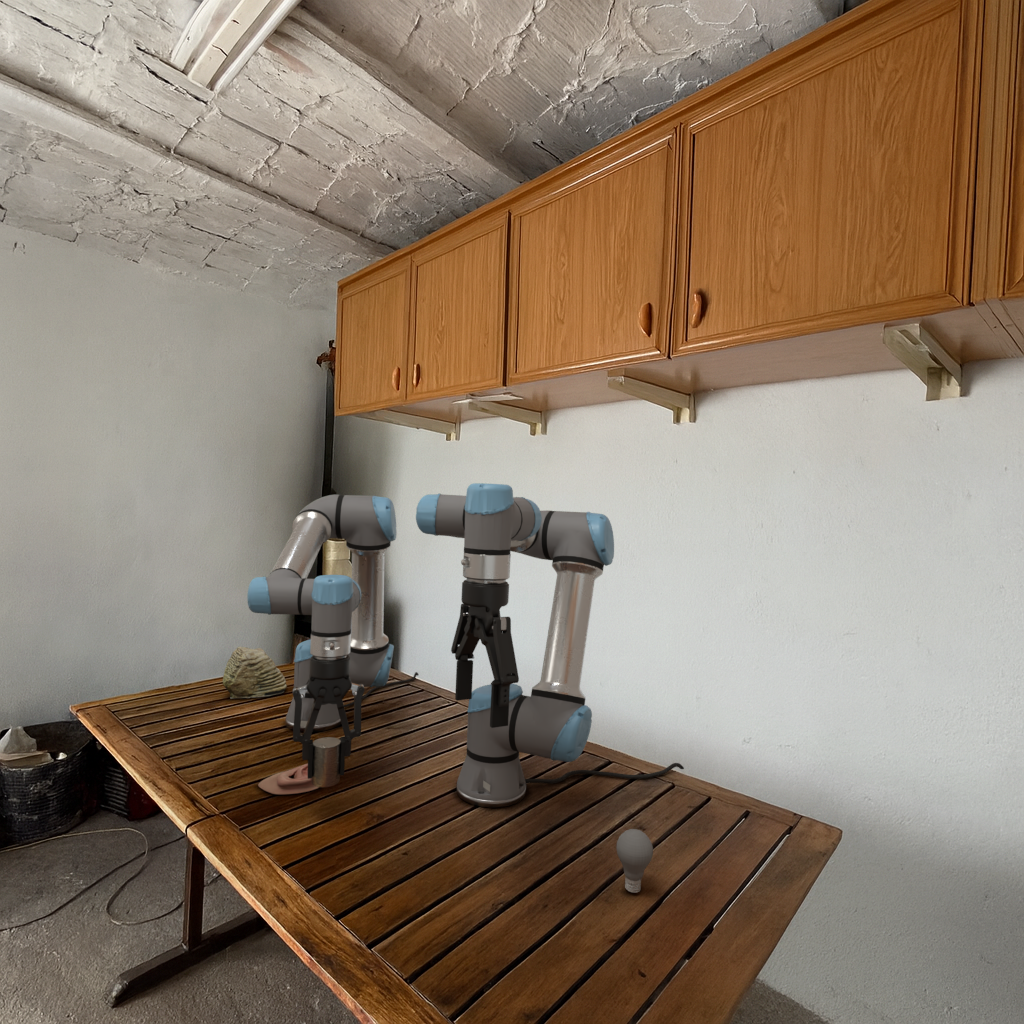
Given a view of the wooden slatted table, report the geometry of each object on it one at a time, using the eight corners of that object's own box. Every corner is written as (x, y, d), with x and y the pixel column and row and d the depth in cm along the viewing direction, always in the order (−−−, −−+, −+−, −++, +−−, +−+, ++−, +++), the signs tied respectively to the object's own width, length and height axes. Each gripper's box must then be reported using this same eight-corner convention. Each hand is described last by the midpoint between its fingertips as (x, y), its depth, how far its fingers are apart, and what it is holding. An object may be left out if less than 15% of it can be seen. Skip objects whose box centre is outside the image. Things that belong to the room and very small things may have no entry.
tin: (310, 788, 120) (312, 748, 120) (312, 776, 125) (313, 737, 125) (339, 786, 121) (340, 746, 121) (339, 774, 126) (341, 736, 126)
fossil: (218, 695, 195) (220, 647, 195) (278, 685, 208) (279, 640, 207) (228, 703, 189) (230, 653, 188) (289, 692, 201) (290, 645, 201)
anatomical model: (250, 772, 134) (280, 751, 146) (249, 790, 135) (280, 768, 146) (307, 780, 132) (333, 759, 143) (306, 799, 132) (333, 776, 143)
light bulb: (610, 879, 108) (613, 822, 108) (644, 879, 109) (647, 822, 109) (619, 902, 102) (622, 840, 102) (655, 901, 103) (658, 840, 103)
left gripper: (279, 662, 116) (275, 787, 117) (380, 658, 122) (375, 777, 123) (280, 652, 123) (276, 770, 124) (375, 649, 129) (371, 761, 130)
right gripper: (435, 570, 111) (430, 691, 111) (499, 592, 88) (493, 742, 89) (475, 570, 114) (470, 687, 114) (545, 590, 92) (539, 735, 92)
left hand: (325, 773), depth 123 cm, fingers closed on tin, 5 cm apart
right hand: (480, 712), depth 102 cm, fingers open, 13 cm apart
